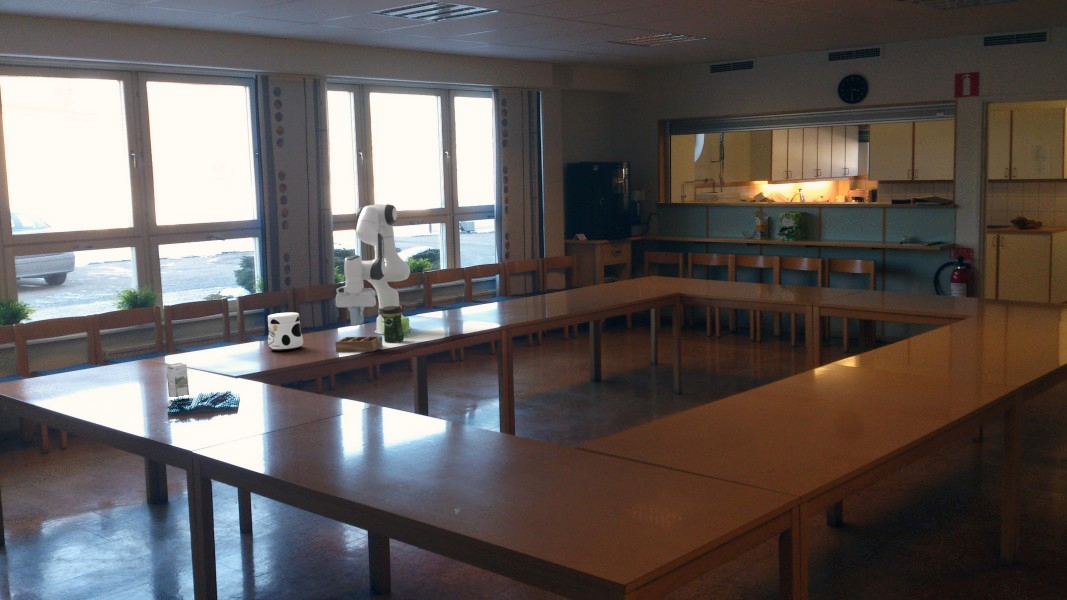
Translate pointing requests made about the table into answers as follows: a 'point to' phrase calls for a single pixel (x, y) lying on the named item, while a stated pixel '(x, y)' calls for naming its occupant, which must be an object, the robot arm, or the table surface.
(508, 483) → the table surface
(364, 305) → the robot arm
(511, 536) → the table surface
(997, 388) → the table surface
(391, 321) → the coffee jar
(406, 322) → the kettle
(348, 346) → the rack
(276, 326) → the milk container
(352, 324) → the light blue thin block
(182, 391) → the syrup box
